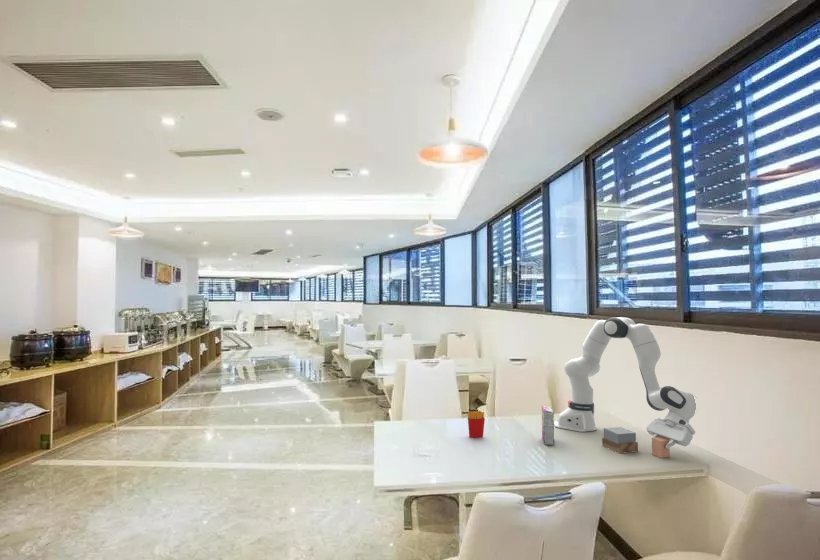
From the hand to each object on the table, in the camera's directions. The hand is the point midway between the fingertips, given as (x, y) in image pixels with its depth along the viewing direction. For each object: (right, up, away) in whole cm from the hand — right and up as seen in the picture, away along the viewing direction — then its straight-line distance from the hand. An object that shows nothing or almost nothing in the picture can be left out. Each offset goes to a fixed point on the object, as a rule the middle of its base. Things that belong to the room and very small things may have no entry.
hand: (659, 446), depth 202 cm
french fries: (-81, -5, +25) cm, 85 cm away
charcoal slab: (-14, -1, +10) cm, 17 cm away
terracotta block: (+1, -4, 0) cm, 4 cm away
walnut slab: (-14, -5, +9) cm, 18 cm away
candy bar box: (-46, -5, +18) cm, 50 cm away
